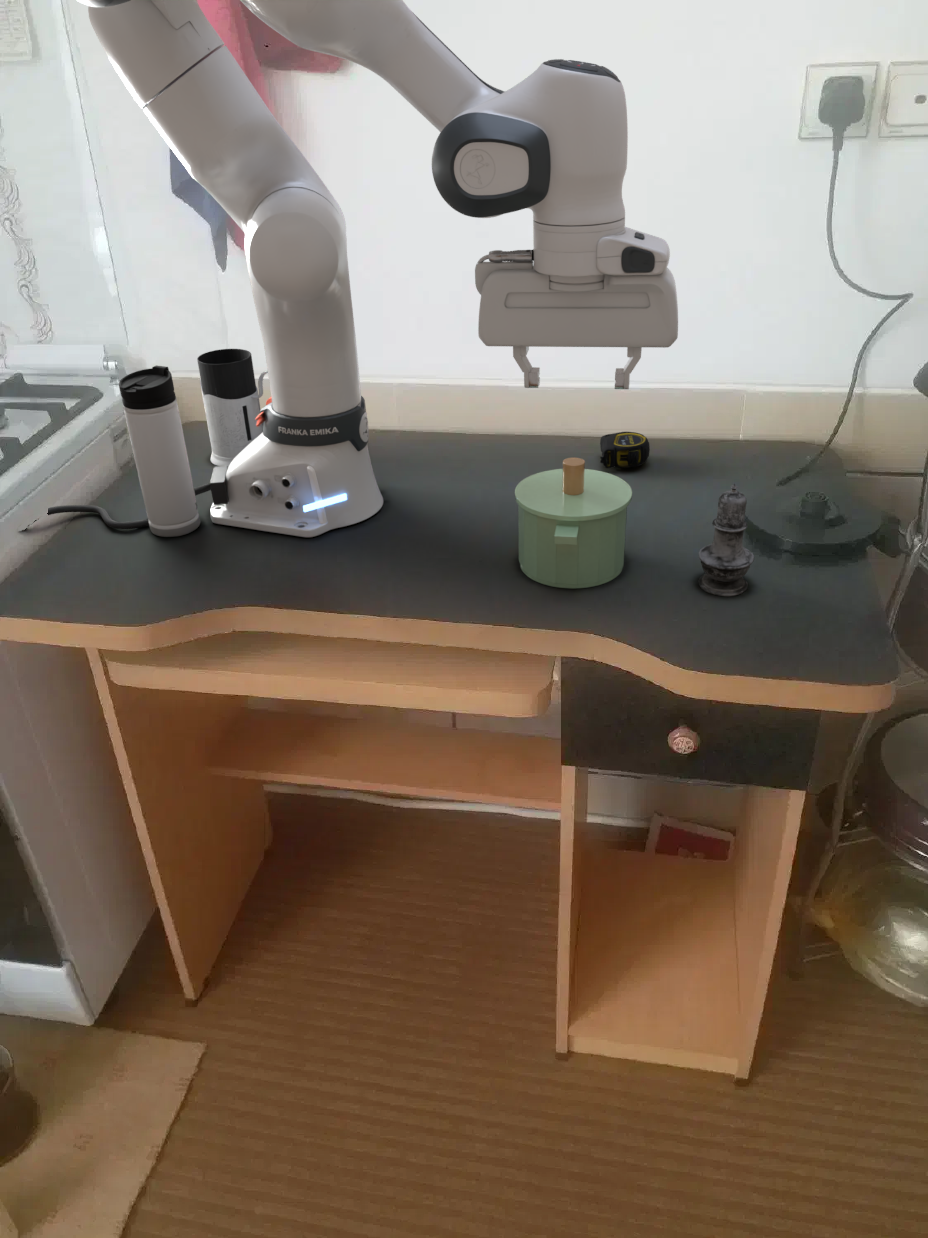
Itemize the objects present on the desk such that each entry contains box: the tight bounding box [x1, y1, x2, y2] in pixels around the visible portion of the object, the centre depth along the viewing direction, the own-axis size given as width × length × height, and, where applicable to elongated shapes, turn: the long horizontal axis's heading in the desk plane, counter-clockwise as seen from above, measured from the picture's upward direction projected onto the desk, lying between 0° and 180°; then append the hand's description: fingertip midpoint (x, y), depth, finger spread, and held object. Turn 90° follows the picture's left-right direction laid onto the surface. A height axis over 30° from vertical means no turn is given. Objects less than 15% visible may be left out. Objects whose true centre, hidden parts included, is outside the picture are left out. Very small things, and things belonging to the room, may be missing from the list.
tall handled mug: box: [196, 348, 268, 467], centre depth 142 cm, size 9×14×15 cm, turn 65°
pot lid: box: [514, 456, 633, 521], centre depth 109 cm, size 13×13×5 cm
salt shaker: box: [697, 483, 755, 597], centre depth 106 cm, size 6×6×12 cm
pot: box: [517, 504, 628, 589], centre depth 112 cm, size 12×17×8 cm
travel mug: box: [118, 365, 201, 538], centre depth 121 cm, size 6×7×20 cm
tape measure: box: [599, 431, 651, 469], centre depth 138 cm, size 7×7×4 cm
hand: (576, 386), depth 104 cm, fingers open, 8 cm apart
